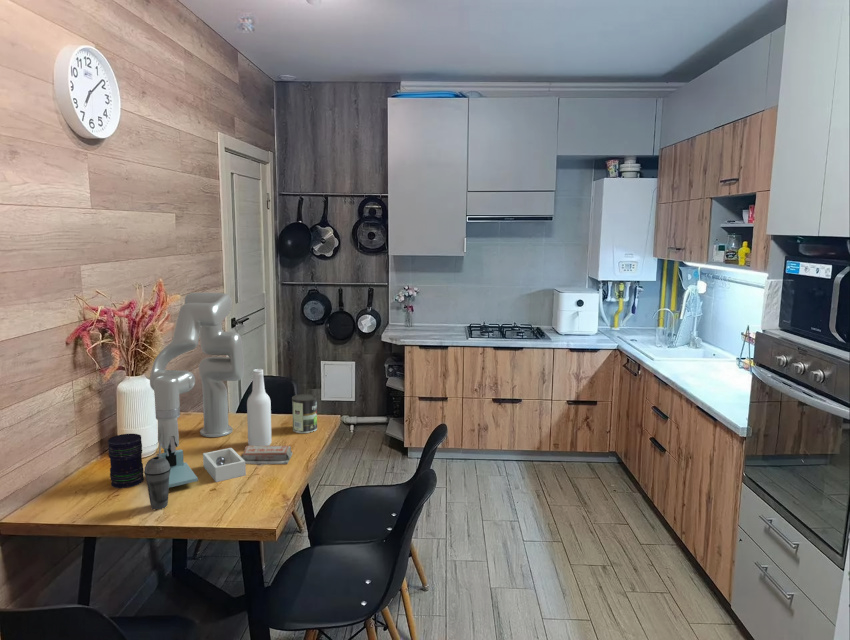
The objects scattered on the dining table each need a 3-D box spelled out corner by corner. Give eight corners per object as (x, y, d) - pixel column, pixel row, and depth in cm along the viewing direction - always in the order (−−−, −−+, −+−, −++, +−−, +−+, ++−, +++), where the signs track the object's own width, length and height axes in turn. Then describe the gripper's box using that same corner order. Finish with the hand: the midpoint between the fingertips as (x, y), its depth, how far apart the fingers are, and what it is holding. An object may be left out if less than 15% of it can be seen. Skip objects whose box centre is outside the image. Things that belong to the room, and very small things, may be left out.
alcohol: (270, 439, 232) (268, 366, 227) (272, 447, 224) (271, 371, 219) (247, 442, 229) (245, 368, 224) (249, 450, 221) (247, 373, 216)
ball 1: (215, 464, 205) (214, 456, 204) (223, 462, 207) (223, 454, 206) (217, 467, 202) (217, 459, 202) (226, 465, 204) (226, 457, 204)
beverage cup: (146, 503, 177) (142, 440, 174) (172, 499, 180) (169, 437, 177) (145, 514, 170) (141, 449, 167) (172, 509, 173) (169, 445, 170)
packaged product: (292, 442, 217) (287, 452, 208) (292, 455, 218) (287, 465, 208) (244, 442, 217) (236, 452, 207) (244, 454, 217) (237, 465, 208)
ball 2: (214, 469, 201) (213, 461, 200) (222, 467, 203) (222, 459, 202) (216, 472, 198) (216, 463, 198) (225, 470, 200) (225, 462, 200)
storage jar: (105, 482, 191) (102, 438, 189) (135, 473, 198) (133, 431, 196) (118, 491, 185) (115, 446, 182) (149, 481, 192) (147, 438, 190)
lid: (153, 471, 195) (152, 455, 194) (186, 465, 201) (185, 448, 200) (163, 488, 183) (162, 470, 182) (197, 481, 189) (197, 463, 188)
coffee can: (319, 425, 250) (319, 393, 248) (314, 433, 240) (314, 400, 237) (295, 425, 250) (295, 393, 248) (289, 433, 240) (289, 400, 238)
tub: (203, 466, 205) (202, 453, 204) (232, 460, 210) (231, 447, 210) (215, 482, 193) (215, 467, 192) (245, 475, 198) (245, 461, 198)
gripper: (150, 408, 198) (153, 459, 201) (160, 421, 186) (163, 475, 188) (174, 405, 203) (176, 455, 205) (185, 417, 190) (188, 470, 193)
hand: (170, 464), depth 197 cm, fingers closed on lid
